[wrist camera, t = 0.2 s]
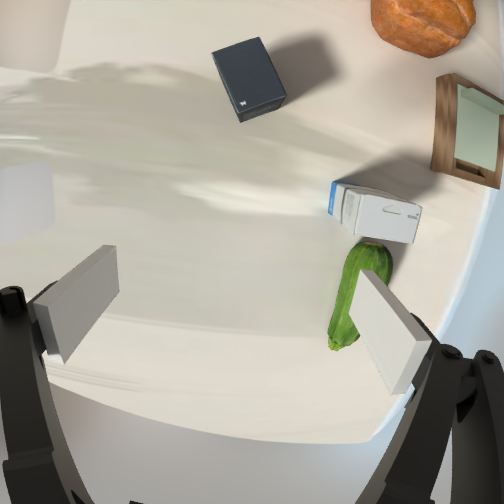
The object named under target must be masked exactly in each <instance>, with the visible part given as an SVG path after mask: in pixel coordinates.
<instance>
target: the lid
mask: <svg viewBox="0 0 504 504" xmlns="http://www.w3.org/2000/svg"><path fill="white" fill-rule="evenodd" d="M499 115H504V105H503V104H501V103H499V102H497V101H496V100H494V99H492V98H490V97H489V96H487V95H485V94H483V93H481V92H479V91H477V90H476V89H474V88H466V87H464V86H461V85H459V84H457V116H456V134H455V146H454V156H453V157H454V158H457V159H460V160H463V161H466V162H468V163H471V164H474V165H477V166H480V167H482V168H485V169H488V170H490V171H493V172H495V169H496V159H497V148H498V131H499Z"/></svg>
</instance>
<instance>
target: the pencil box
mask: <svg viewBox="0 0 504 504" xmlns="http://www.w3.org/2000/svg"><path fill="white" fill-rule="evenodd" d="M457 84H459V85H461V86H464V87H466V88H474V89H476V90H477V91H479V92H481V93H483V94H485V95H487V96H489V97H490V98H492V99H494V100H496V101H497V102H499V103H501V104H503V105H504V100H501V99H500V98H498V97H496V96H494V95H493V94H491V93H489V92H487V91H486V90H484V89H482V88H480V87H478V86H476V85H474V84H472V83H471V82H469V81H467V80H465V79H463V78H460V77H458V76H457V75H456V74H454V73H452V74H448V75H445V76H441V77H437V78H436V115H435V131H434V143H433V153H432V162H431V170H433V171H437V172H441V173H444V174H448V175H451V176H455V177H458V178H462V179H465V180H468V181H472V182H475V183H478V184H481V185H485V186H488V187H492V188H495V189H500V183H501V175H502V167H503V157H504V115H499V131H498V148H497V159H496V169H495V172H493V171H490V170H488V169H485V168H482V167H480V166H477V165H474V164H471V163H468V162H466V161H463V160H460V159H457V158H454V157H453V156H454V146H455V134H456V116H457Z"/></svg>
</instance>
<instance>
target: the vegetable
mask: <svg viewBox="0 0 504 504" xmlns="http://www.w3.org/2000/svg"><path fill="white" fill-rule="evenodd" d="M360 269H362V270H373V271H374V272H375V274H376V275H377V276H378V277H379V278H380V279H381V280H382V281H383V282H384V284H385V285H386V286H388V283H389V281H390V278H391V275H392V269H393V259H392V256H391V254H390V252H389V250H388V249H387V248H386V247H385V246H384V245H382V244H379V243H374V242H363V243H360V244H357V245H355V246H354V247H353V248H352V250H351V251H350V253H349V254H348V256H347V259H346V261H345V265H344V269H343V274H342V279H341V283H340V287H339V291H338V295H337V299H336V304H335V309H334V312H333V315H332V318H331V321H330V325H329V328H328V335H329V341H328V343H329V346H328V347H329V348H330V349H331V350H335V351H338V350H339V349H341V348H343V347H345V346H349V345H351V344H352V343H353V342H355V341H356V340H357V339H358V338H359V337H360V334H359V332H358V330H357V328H356V326H355V324H354V322H353V321H352V319H351V317H350V315H349V310H350V307H351V303H352V300H353V296H354V292H355V288H356V284H357V280H358V276H359V272H360Z"/></svg>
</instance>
